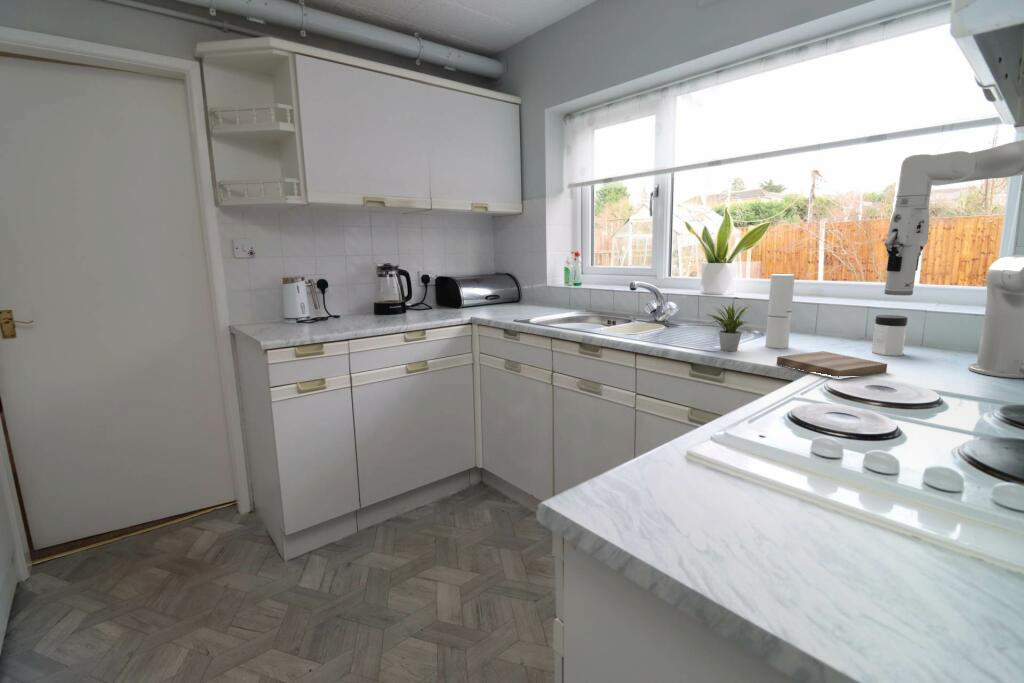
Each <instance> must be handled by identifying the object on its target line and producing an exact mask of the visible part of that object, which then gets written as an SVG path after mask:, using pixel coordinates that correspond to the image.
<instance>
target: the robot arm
mask: <svg viewBox="0 0 1024 683" xmlns="http://www.w3.org/2000/svg"><path fill="white" fill-rule="evenodd" d="M897 168H898V170H897V176H896V184H895V191H894V192H895V193H894V198H893V199H894V201H893V207H892V210H893V211H892V213H891V216H890V220H889V226H888V231H887V238H886V240H885V241H884V242H883V243H884V244H883V245H884V246H885V248H886V252H887V254H886V256H887V257H888V259H887V266H886V272H887V271H896V272H899V271H900V270H901V262H902V257H900V256H901V253H902V251H903V248H904V246H913V245H915V241H916V236H917V235H916V234H915V233H916V232H918V231H919V230H920V233H921V234H920V235H919V236H920V240H919V252H918V259H917V266H916V271H918V267H919V261H920V257H921V255H922V251H923V250H924V247H926V245H927V244H928V241H929V232H930V209H929V207H930V199H931V194H932V186H945V185H952V184H959V183H965V182H968V183H969V182H974V181H982V180H991V179H1002V178H1012V177H1019V176H1024V139H1022V140H1021V139H1020V140H1016V141H1013V142H1008V143H1005V144H1000V145H997V146H994V147H991V148H988V149H982V150H979V151H973V152H967V151H963V150H962V151H961V150H957V151H951V152H946V153H937V154H928V153H927V154H925V153H924V154H923V153H921V154H913V155H907V156H904V157H903V158H901V159H900V161H899V163H898V167H897ZM922 220H924V223H923V221H922ZM919 222H921V223H920V224H921V228H920V229H919V228H918V229H917V226H918V225H919V224H918V223H919ZM917 230H918V231H917ZM896 242H899V243H901V245H894V244H895V243H896ZM896 248H898V250H897V249H896ZM985 279H986V280H985V282H986V305H985V311H984V318H983V322H982V323H983V324H982V329H981V333H980V334H981V336H980V340H979V348H978V353H977V360H976V363H970V364H969V365H968V370H969V371H971V372H974V373H977V374H981V375H986V376H992V377H999V378H1011V379H1024V254H1011V255H1010V254H1009V255H1006V256H1003V257H1001V258H998V259H997V260H995V261H994V262H993V263H992V264H991V265H990V266H989V268H988V270H987V272H986V278H985Z"/></svg>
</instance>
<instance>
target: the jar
mask: <svg viewBox="0 0 1024 683" xmlns="http://www.w3.org/2000/svg"><path fill="white" fill-rule="evenodd" d="M908 319H909V318H908V317H907V316H904V315H895V314H894V315H893V314H879V315H876V316H875V320H874V322H875V323H874V328H873V337H872V338H873V339H872V344H871V345H872V346H871V353H873V354H876V355H877V354H878V355H883V356H902V355H903V354H904V350H905V340H906V333H907V327H908V325H907V324H908Z"/></svg>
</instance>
